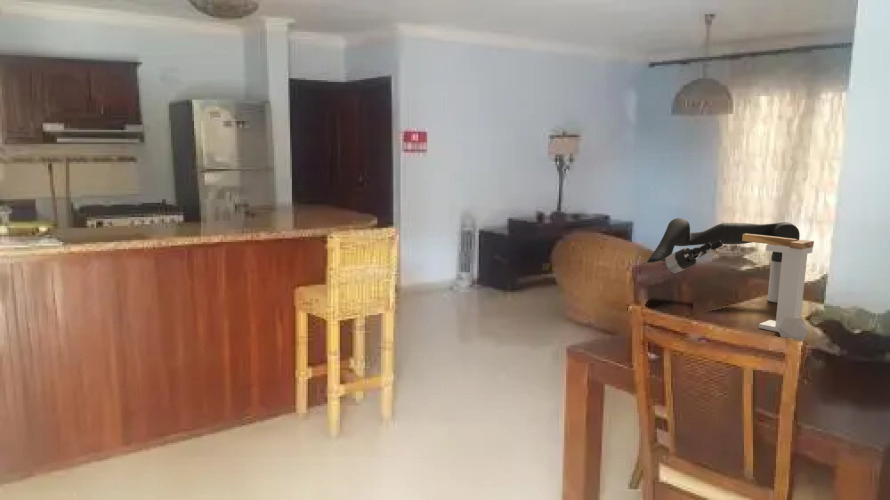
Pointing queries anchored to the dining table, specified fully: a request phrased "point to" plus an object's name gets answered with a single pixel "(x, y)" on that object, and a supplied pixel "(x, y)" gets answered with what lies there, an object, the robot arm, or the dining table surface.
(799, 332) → the die
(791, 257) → the i beam
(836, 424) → the dining table surface
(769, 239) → the t bar
